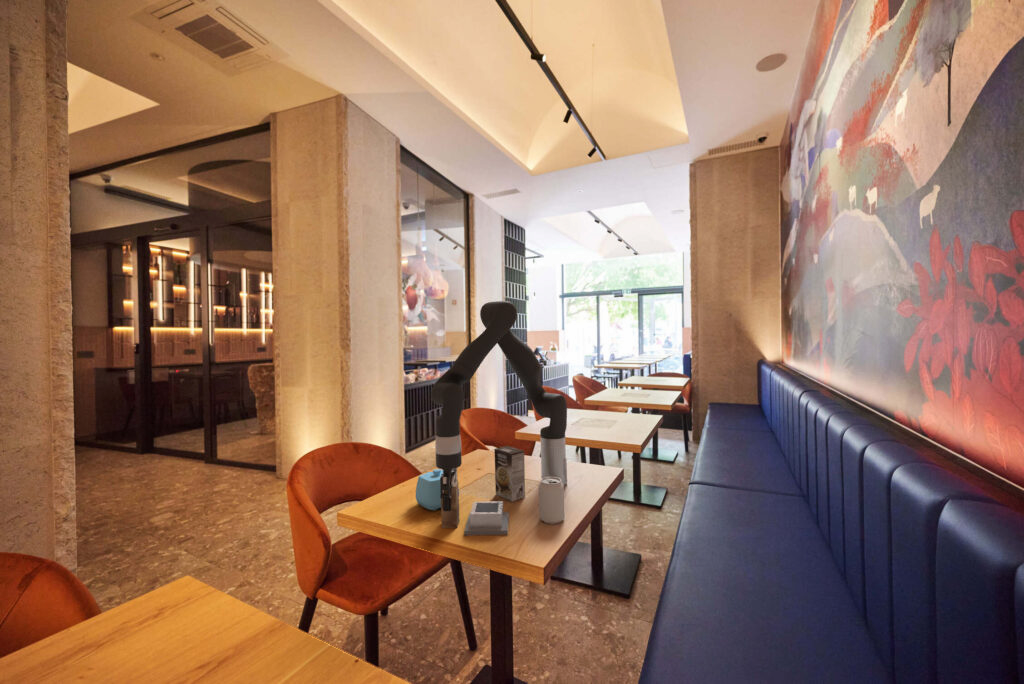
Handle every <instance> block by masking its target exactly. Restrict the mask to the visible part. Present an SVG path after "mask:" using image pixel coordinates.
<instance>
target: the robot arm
mask: <svg viewBox="0 0 1024 684" xmlns="http://www.w3.org/2000/svg"><path fill="white" fill-rule="evenodd" d="M479 315H480V320H481V323H482V324H483V326H484V327H485V329H484V330H483V331H482V333H481V334H479V335H478V336H477V337H476V338H475V339H473V340H472V341H471V342H470V343H469V344H468V345H467V346H465V348H463V349H462V351H461V352H460V353H459V355H458V357H457V358H456V360H455V361H454V362H453V364H452V366H451V367H450V368H448V369H447V371H445V372H444V373H443V374H442V375H441V376H440V378H438V379H437V380H436V381H435V382H434V384H433V386H432V388H431V391H430V398H431V401H432V402H433V403H434V404H435V405H438V406H442V409H441V414H439V415H437V416H436V418H435V443H434V445H435V449H434V450H435V466H436V469H440V470H443V474H441V478H440V491H441V495H440V497H441V499H443V511H451V491H452V490H453V488H454V481H458V482H459V480H458V468H460V467H461V466H462V464H463V462H462V459H463V458H462V439H461V428H460V427H461V423H460V421H461V416H462V413H463V412H462V411H463V406H464V402H465V401H464V399H465V396H464V390H463V389H462V387H461V385H462V384H464V383H465V384H467V383H468V382H470V380H472V378H473V377H474V375H475V374H476V372H477V370H478V369H479V367H480V366H481V364H482V363H483V361H484V360H485V359H486V357H487V356H488V354H489V353H490V352H491V351H492V349H494V348H495V346H497V345H498V346H499V348H500V350H501V352H502V353H503V354H504V355H503V356H505V357H506V359H507V361H508V363H509V364H510V367H511V368H512V370H513V371H514V373H515V374H516V376H517V378H518V379H519V381H520V382H521V384H522V386H523V388H524V390H525V391H526V393H527V395H528V398H529V399H530V402H531V404H532V406H533V408H534V410H535V413H537V415H538V416H540V417H542V418H545V419H546V418H547V419H549V425H548V426H544V427H542V428H541V429H540V435H539V436H540V437H539V438H540V466H541V467H540V470H541V471H540V472H541V475H540V476H541V479H542V478H544V477H557V478H560V479H561V482H562V483H563V485H564V486H568V469H567V467H568V466H567V465H568V464H567V463H568V462H567V457H566V455H567V454H566V451H567V450H566V449H567V448H566V431H567V427H568V426H567V425H568V424H567V423H568V422H567V421H568V403H567V399H566V397H565V396H564V395H563V394H561V393H560V394H558V393H552V392H547V391H546V390H545V389H544V387H543V385H542V383H541V373H542V367H541V363H540V361H539V359H538V357H537V356H536V354H535V352H534V351H533V349H532V348H531V347H530V346H529V345H528V344H527V343H525V342H524V341H523V340H522V339H521V338H519V337H518V335H516V334H515V333H514V332H513V331H512V329H511V328H512V327H513V326H514V324H515V323H516V321H517V318H518V312H517V308H516V306H515V305H514V304H513V303H512V302H511V301H508V300H498V301H489V302H486V303H483V305H482V306H481V308H480V311H479ZM445 490H447V491H448V494H445Z"/></svg>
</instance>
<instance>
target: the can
mask: <svg viewBox="0 0 1024 684" xmlns="http://www.w3.org/2000/svg"><path fill="white" fill-rule="evenodd" d="M564 486H565V485H563V483H562V482H561V479H560V478H557V477H544V478H541V479H540V482H539V483H538V510H539V511H538V512H539V519H540V520H541V521H542V522H543V521H544V522H543V523H545V524H548V523H549V524H548V525H555V524H556V523H557V524H559V522H560V523H561V522H562V521H563V520H564V519H565V518H566V515H565V514H566V513H565V487H564Z"/></svg>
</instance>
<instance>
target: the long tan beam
mask: <svg viewBox="0 0 1024 684" xmlns="http://www.w3.org/2000/svg"><path fill="white" fill-rule="evenodd" d="M445 494H448V491H447V490H445ZM440 515H441V529H457V528H458V526H459V525H460V488H459V480H458V481H454V488H453V490H452V491H451V511H443V499H441V508H440Z"/></svg>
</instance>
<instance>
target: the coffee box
mask: <svg viewBox="0 0 1024 684" xmlns="http://www.w3.org/2000/svg"><path fill="white" fill-rule="evenodd" d="M493 451H494V474H495V475H494V477H495V478H494V479H495V482H494V483H495V485H494V486H495V495H496V496H498V497H500V496H501V498H503V499H506V500H508V501H509V500H510V501H509V502H515V501H517V499H518V500H521V499H524V498H525V497H526V483H525V482H526V477H525V476H526V475H525V473H526V472H525V470H526V469H525V450H524V449H519V448H516V447H513V446H510V445H506V446H501V447H497V448H494V449H493ZM520 498H521V499H520Z"/></svg>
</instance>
